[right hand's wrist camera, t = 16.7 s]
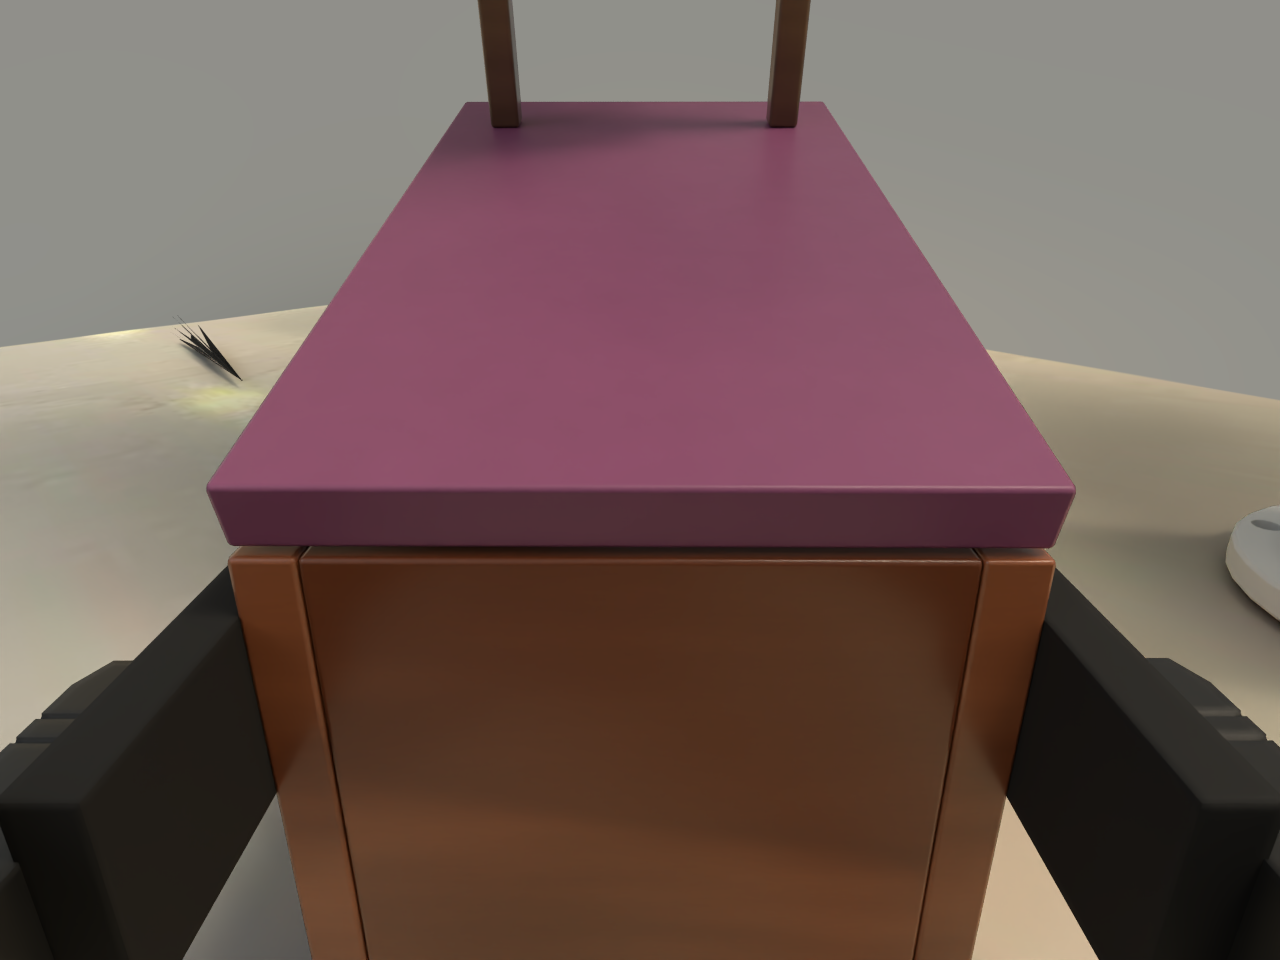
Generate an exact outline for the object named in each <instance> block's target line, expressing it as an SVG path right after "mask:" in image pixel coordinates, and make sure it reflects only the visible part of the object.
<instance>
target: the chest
mask: <svg viewBox="0 0 1280 960" xmlns="http://www.w3.org/2000/svg"><path fill="white" fill-rule="evenodd" d="M1055 566H1056V564H1055V560H1054V559H1053V558H1052V557H1051V556H1050V555H1049V554H1048V553H1047V552H1046V551H1045V550H1044V549H1043V548H742V547H410V546H240V547H239V548H238V549H237V550H236V551H235V552H234V553H233V554H232V555H231V556H230V557H229V560H228V568H229V573H230V577H231V582H232V587H233V591H234V596H235V601H236V605H237V610H238V615H239V619H240V623H241V628H242V633H243V637H244V642H245V647H246V651H247V656H248V661H249V666H250V670H251V675H252V680H253V684H254V689H255V694H256V698H257V703H258V708H259V712H260V717H261V722H262V727H263V731H264V736H265V741H266V745H267V750H268V755H269V759H270V764H271V769H272V774H273V778H274V783H275V788H276V792H277V797H278V802H279V807H280V811H281V816H282V821H283V826H284V830H285V835H286V840H287V844H288V849H289V854H290V858H291V863H292V868H293V872H294V877H295V882H296V886H297V891H298V896H299V900H300V905H301V910H302V914H303V919H304V924H305V929H306V933H307V938H308V943H309V947H310V952H311V957H312V960H971V958H972V954H973V949H974V944H975V940H976V935H977V930H978V926H979V921H980V916H981V912H982V907H983V902H984V898H985V893H986V888H987V884H988V879H989V874H990V870H991V865H992V860H993V856H994V851H995V846H996V842H997V837H998V832H999V828H1000V823H1001V818H1002V814H1003V809H1004V804H1005V800H1006V795H1007V790H1008V786H1009V781H1010V776H1011V772H1012V767H1013V762H1014V758H1015V753H1016V748H1017V744H1018V739H1019V734H1020V730H1021V725H1022V720H1023V716H1024V711H1025V706H1026V702H1027V697H1028V692H1029V688H1030V683H1031V678H1032V674H1033V669H1034V664H1035V660H1036V655H1037V650H1038V646H1039V641H1040V636H1041V632H1042V627H1043V622H1044V618H1045V613H1046V608H1047V604H1048V599H1049V594H1050V590H1051V585H1052V580H1053V576H1054V571H1055Z"/></svg>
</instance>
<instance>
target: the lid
mask: <svg viewBox="0 0 1280 960" xmlns="http://www.w3.org/2000/svg"><path fill="white" fill-rule="evenodd" d="M810 2H811V0H776V10H775V22H774V34H773V45H772V57H771V68H770V80H769V91H768V102H521V99H520V88H519V76H518V64H517V53H516V41H515V29H514V17H513V6H512V0H478V8H479V18H480V27H481V36H482V45H483V54H484V64H485V73H486V83H487V92H488V101H489V102H467V103H465V105H464V106H463V107H462V109H461V110H460V112H459V113H458V115H457V116H456V118H455V119H454V121H453V122H452V124H451V125H450V127H449V128H448V130H447V131H446V133H445V134H444V136H443V137H442V138H441V140H440V141H439V143H438V144H437V146H436V147H435V149H434V150H433V152H432V153H431V155H430V156H429V158H428V159H427V161H426V162H425V164H424V165H423V167H422V168H421V170H420V171H419V172H418V174H417V175H416V177H415V178H414V180H413V181H412V183H411V184H410V186H409V187H408V189H407V190H406V192H405V193H404V195H403V196H402V198H401V199H400V201H399V202H398V203H397V205H396V206H395V208H394V209H393V211H392V212H391V214H390V215H389V217H388V218H387V220H386V221H385V223H384V224H383V226H382V227H381V229H380V230H379V231H378V233H377V235H376V236H375V237H374V239H373V240H372V242H371V243H370V245H369V246H368V248H367V249H366V251H365V252H364V254H363V255H362V257H361V258H360V260H359V261H358V262H357V264H356V265H355V267H354V269H353V270H352V272H351V273H350V274H349V276H348V277H347V279H346V280H345V282H344V283H343V285H342V286H341V288H340V289H339V291H338V292H337V293H336V295H335V297H334V298H333V299H332V301H331V302H330V304H329V305H328V307H327V308H326V310H325V311H324V313H323V314H322V316H321V317H320V319H319V320H318V322H317V323H316V324H315V326H314V327H313V329H312V330H311V332H310V333H309V335H308V336H307V338H306V339H305V341H304V342H303V344H302V345H301V347H300V348H299V350H298V351H297V353H296V354H295V355H294V357H293V358H292V360H291V361H290V363H289V364H288V366H287V367H286V369H285V370H284V372H283V373H282V375H281V376H280V378H279V379H278V381H277V382H276V384H275V385H274V386H273V388H272V389H271V391H270V392H269V394H268V395H267V397H266V398H265V400H264V401H263V403H262V404H261V406H260V407H259V409H258V410H257V412H256V413H255V414H254V416H253V417H252V419H251V420H250V422H249V423H248V425H247V426H246V428H245V429H244V431H243V432H242V434H241V435H240V437H239V438H238V440H237V441H236V443H235V444H234V445H233V447H232V448H231V450H230V451H229V453H228V454H227V456H226V457H225V459H224V460H223V462H222V463H221V465H220V466H219V468H218V469H217V471H216V472H215V474H214V475H213V476H212V478H211V479H210V481H209V482H208V484H207V494H208V496H209V499H210V501H211V503H212V506H213V508H214V511H215V513H216V515H217V518H218V520H219V523H220V525H221V527H222V530H223V532H224V535H225V537H226V539H227V542H228V543H229V544H230V545H232V546H410V547H742V548H1051V547H1053V546H1054V545H1055V543H1056V540H1057V538H1058V535H1059V533H1060V530H1061V528H1062V526H1063V523H1064V521H1065V518H1066V516H1067V514H1068V511H1069V509H1070V506H1071V504H1072V501H1073V499H1074V497H1075V494H1076V489H1075V486H1074V484H1073V483H1072V481H1071V479H1070V478H1069V476H1068V475H1067V473H1066V472H1065V470H1064V469H1063V467H1062V466H1061V464H1060V463H1059V461H1058V460H1057V458H1056V457H1055V455H1054V454H1053V452H1052V451H1051V449H1050V447H1049V446H1048V444H1047V443H1046V441H1045V440H1044V438H1043V437H1042V435H1041V434H1040V432H1039V431H1038V429H1037V428H1036V426H1035V425H1034V423H1033V422H1032V420H1031V418H1030V417H1029V415H1028V414H1027V412H1026V411H1025V409H1024V408H1023V406H1022V405H1021V403H1020V402H1019V400H1018V399H1017V397H1016V396H1015V394H1014V393H1013V391H1012V389H1011V388H1010V386H1009V385H1008V383H1007V382H1006V380H1005V379H1004V377H1003V376H1002V374H1001V373H1000V371H999V370H998V368H997V367H996V365H995V364H994V362H993V360H992V359H991V357H990V356H989V354H988V353H987V351H986V350H985V348H984V347H983V345H982V344H981V342H980V341H979V339H978V338H977V336H976V335H975V333H974V331H973V330H972V329H971V327H970V325H969V324H968V322H967V321H966V319H965V318H964V316H963V315H962V313H961V312H960V310H959V309H958V307H957V306H956V304H955V303H954V301H953V299H952V298H951V296H950V295H949V293H948V292H947V290H946V289H945V287H944V286H943V284H942V283H941V281H940V280H939V278H938V277H937V275H936V273H935V272H934V270H933V269H932V267H931V266H930V264H929V263H928V261H927V260H926V258H925V257H924V255H923V254H922V252H921V251H920V249H919V248H918V246H917V245H916V243H915V241H914V240H913V238H912V237H911V235H910V234H909V232H908V231H907V229H906V228H905V226H904V225H903V223H902V222H901V220H900V219H899V217H898V215H897V214H896V212H895V211H894V209H893V208H892V206H891V205H890V203H889V202H888V200H887V199H886V197H885V196H884V194H883V193H882V191H881V190H880V188H879V187H878V185H877V183H876V182H875V180H874V179H873V177H872V176H871V174H870V173H869V171H868V170H867V168H866V167H865V165H864V164H863V162H862V161H861V159H860V158H859V156H858V155H857V153H856V151H855V150H854V148H853V147H852V145H851V144H850V142H849V141H848V139H847V138H846V136H845V135H844V133H843V132H842V130H841V129H840V127H839V125H838V124H837V122H836V121H835V119H834V118H833V116H832V115H831V113H830V112H829V110H828V109H827V107H826V106H825V104H824V103H823V102H800V94H801V85H802V76H803V66H804V57H805V48H806V39H807V30H808V20H809V11H810Z"/></svg>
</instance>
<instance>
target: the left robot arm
mask: <svg viewBox="0 0 1280 960" xmlns="http://www.w3.org/2000/svg"><path fill="white" fill-rule="evenodd" d="M1225 563H1226V565H1227V567H1228V569H1229V572H1230V574H1231V576H1232V578H1233V579H1234V581H1235V582H1236V583H1237V584H1238V585H1239V586H1240V587H1241V588H1242V590H1243V591H1244V592H1245V593H1246V594H1247V595H1248V596H1249V597H1250V599H1251V600H1253V601H1254V602H1255V603H1257V604H1258V605H1259V606H1260V607H1262V608H1263V609H1264V610H1265V611H1267V612H1268V613H1269V614H1271V615H1272V616H1273V617H1274V618H1276V619H1277V620H1279V621H1280V505H1277V506H1271V507H1268V508H1265V509H1262V510H1259V511H1256V512H1253V513H1250V514H1248V515H1247V516H1245V517H1244V518H1242V519H1241V520H1240V521H1238V522H1237V523H1236V525H1235V527H1234V529H1233V531H1232V534H1231V537H1230V541H1229V544H1228V547H1227V551H1226V561H1225Z"/></svg>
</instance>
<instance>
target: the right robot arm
mask: <svg viewBox="0 0 1280 960" xmlns="http://www.w3.org/2000/svg"><path fill="white" fill-rule="evenodd" d="M1240 712H1241V711H1240V710H1239V709H1238V708H1237V707H1236V706H1235V705H1234V704H1233V703H1232V702H1231V701H1230V700H1229V699H1228V698H1227V697H1225V696H1224V695H1223V694H1222V693H1221V692H1220V691H1219V690H1218V689H1217V688H1216V687H1215V686H1214V685H1213V684H1212V683H1211V682H1209V681H1207V680H1205V679H1204V678H1202V677H1200V676H1198V675H1197V674H1195V673H1193V672H1192V671H1190V670H1188V669H1186V668H1185V667H1183V666H1181V665H1179V664H1178V663H1176V662H1174V661H1172V660H1171V659H1169V658H1145V657H1144V656H1143V655H1142V654H1141V653H1140V652H1139V651H1138V650H1137V649H1136V648H1135V647H1134V646H1133V645H1132V644H1131V643H1130V642H1129V641H1128V640H1127V639H1126V638H1125V637H1124V636H1123V635H1122V634H1121V633H1120V632H1119V631H1118V630H1117V629H1116V628H1115V627H1114V626H1113V625H1112V624H1111V623H1110V622H1109V621H1108V620H1107V619H1106V618H1105V617H1104V616H1103V615H1102V614H1101V613H1100V612H1099V611H1098V610H1097V609H1096V608H1095V607H1094V606H1093V605H1092V604H1091V603H1090V602H1089V601H1088V600H1087V599H1086V598H1085V597H1084V596H1083V595H1082V594H1081V593H1080V592H1079V591H1078V590H1077V589H1076V588H1075V587H1074V586H1073V585H1072V584H1071V583H1070V582H1069V581H1068V580H1067V579H1066V578H1065V577H1064V576H1063V575H1062V574H1061V573H1060V572H1059V571H1058V570H1057V569H1056V568H1055V571H1054V576H1053V580H1052V585H1051V590H1050V594H1049V599H1048V604H1047V608H1046V613H1045V618H1044V622H1043V627H1042V632H1041V636H1040V641H1039V646H1038V650H1037V655H1036V660H1035V664H1034V669H1033V674H1032V678H1031V683H1030V688H1029V692H1028V697H1027V702H1026V706H1025V711H1024V716H1023V720H1022V725H1021V730H1020V734H1019V739H1018V744H1017V748H1016V753H1015V758H1014V762H1013V767H1012V772H1011V776H1010V781H1009V786H1008V790H1007V795H1006V796H1007V798H1008V800H1009V801H1010V803H1011V805H1012V807H1013V809H1014V810H1015V812H1016V814H1017V816H1018V817H1019V819H1020V821H1021V823H1022V824H1023V826H1024V828H1025V830H1026V832H1027V833H1028V835H1029V837H1030V839H1031V840H1032V842H1033V844H1034V846H1035V847H1036V849H1037V851H1038V853H1039V855H1040V856H1041V858H1042V860H1043V862H1044V863H1045V865H1046V867H1047V869H1048V870H1049V872H1050V874H1051V876H1052V878H1053V879H1054V881H1055V883H1056V885H1057V886H1058V888H1059V890H1060V892H1061V894H1062V895H1063V897H1064V899H1065V901H1066V902H1067V904H1068V906H1069V908H1070V909H1071V911H1072V913H1073V915H1074V917H1075V918H1076V920H1077V922H1078V924H1079V925H1080V927H1081V929H1082V931H1083V932H1084V934H1085V936H1086V938H1087V940H1088V941H1089V943H1090V945H1091V947H1092V948H1093V950H1094V952H1095V954H1096V955H1097V957H1098V959H1099V960H1280V747H1279V746H1278V745H1277V744H1276V743H1275V742H1274V741H1267V739H1266V734H1265V733H1264V732H1263V731H1262V730H1261V729H1260V728H1259V727H1258V726H1256V725H1255V724H1254V723H1253V722H1252V721H1251V720H1250V719H1249V718H1248V717H1247V716H1241V713H1240ZM16 739H17V740H16V743H10V744H9V745H8V746H7V747H5V748H4V749H3V750H2V751H1V752H0V960H182V959H183V957H184V956H185V954H186V952H187V950H188V948H189V947H190V945H191V943H192V941H193V940H194V938H195V936H196V934H197V933H198V931H199V929H200V927H201V925H202V924H203V922H204V920H205V918H206V917H207V915H208V913H209V911H210V910H211V908H212V906H213V904H214V902H215V901H216V899H217V897H218V895H219V894H220V892H221V890H222V888H223V887H224V885H225V883H226V881H227V879H228V878H229V876H230V874H231V872H232V871H233V869H234V867H235V865H236V864H237V862H238V860H239V858H240V856H241V855H242V853H243V851H244V849H245V848H246V846H247V844H248V842H249V841H250V839H251V837H252V835H253V833H254V832H255V830H256V828H257V826H258V825H259V823H260V821H261V819H262V818H263V816H264V814H265V812H266V810H267V809H268V807H269V805H270V803H271V802H272V800H273V798H274V796H275V795H276V793H277V792H276V788H275V783H274V778H273V774H272V769H271V764H270V759H269V755H268V750H267V745H266V741H265V736H264V731H263V727H262V722H261V717H260V712H259V708H258V703H257V698H256V694H255V689H254V684H253V680H252V675H251V670H250V666H249V661H248V656H247V651H246V647H245V642H244V637H243V633H242V628H241V623H240V619H239V615H238V610H237V605H236V601H235V596H234V591H233V587H232V582H231V577H230V573H229V568H228V566H227V567H226V568H225V569H224V570H223V571H222V572H221V573H220V574H219V575H218V576H217V577H216V578H215V579H214V580H213V581H212V582H211V583H210V584H209V585H208V586H207V587H206V588H205V589H204V590H203V591H202V592H201V593H200V594H199V595H198V596H197V597H196V598H195V599H194V600H193V601H192V602H191V603H190V604H189V605H188V606H187V607H186V608H185V609H184V610H183V611H182V612H181V613H180V614H179V615H178V616H177V617H176V618H175V619H174V620H173V621H172V622H171V623H170V624H169V625H168V626H167V627H166V628H165V629H164V630H163V631H162V632H161V633H160V634H159V635H158V636H157V637H156V638H155V639H154V640H153V641H152V642H151V643H150V644H149V645H148V646H147V647H146V648H145V649H144V650H143V651H142V652H141V653H140V654H139V655H138V656H137V657H136V658H135V659H134V660H133V661H112V662H111V663H109V664H107V665H106V666H104V667H102V668H100V669H99V670H97V671H95V672H93V673H92V674H90V675H88V676H87V677H85V678H83V679H81V680H80V681H78V682H76V683H74V684H73V685H71V686H70V687H69V688H68V689H67V690H66V691H65V692H64V693H63V694H62V695H61V696H60V697H59V698H58V699H56V700H55V701H54V702H53V703H52V704H51V705H50V706H49V707H48V708H47V709H46V710H45V711H44V712H43V713H42V717H41V719H35V720H34V721H33V722H32V723H31V724H30V725H29V726H28V727H27V728H26V729H25V730H24V731H22V732H21V733H20V734H19V735H18V736H17V737H16Z"/></svg>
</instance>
